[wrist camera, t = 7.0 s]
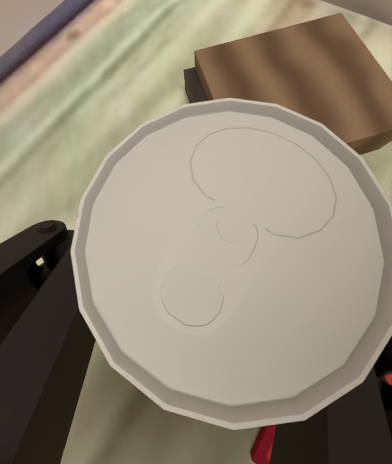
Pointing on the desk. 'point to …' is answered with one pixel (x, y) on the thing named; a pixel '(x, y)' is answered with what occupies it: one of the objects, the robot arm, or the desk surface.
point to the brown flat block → (303, 78)
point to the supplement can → (236, 263)
